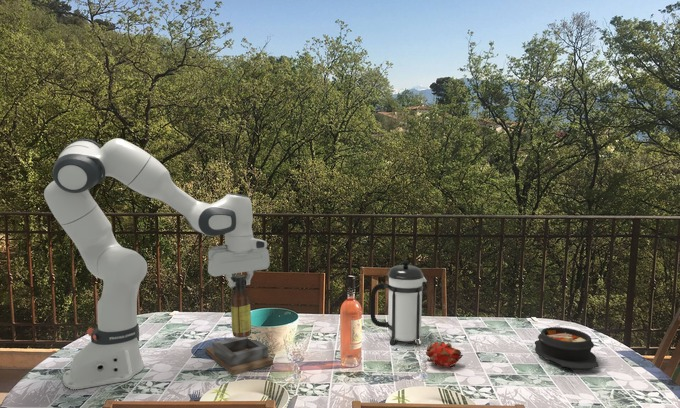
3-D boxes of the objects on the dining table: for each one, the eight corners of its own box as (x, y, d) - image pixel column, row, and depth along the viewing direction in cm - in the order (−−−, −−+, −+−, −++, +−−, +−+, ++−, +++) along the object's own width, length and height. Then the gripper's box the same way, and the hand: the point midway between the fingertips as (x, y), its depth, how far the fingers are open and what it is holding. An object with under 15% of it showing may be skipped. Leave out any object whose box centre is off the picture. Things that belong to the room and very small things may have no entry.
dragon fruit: (421, 368, 158) (458, 374, 158) (427, 362, 151) (466, 369, 150) (423, 342, 162) (459, 348, 162) (428, 335, 155) (466, 341, 155)
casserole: (521, 345, 175) (522, 322, 174) (572, 344, 176) (573, 321, 175) (555, 375, 150) (556, 349, 149) (614, 374, 151) (615, 348, 150)
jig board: (232, 375, 149) (232, 359, 148) (205, 352, 166) (205, 338, 166) (273, 364, 157) (273, 349, 157) (243, 343, 175) (243, 329, 174)
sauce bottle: (253, 331, 163) (253, 273, 161) (248, 338, 157) (248, 278, 155) (234, 331, 163) (233, 273, 161) (228, 338, 157) (228, 277, 155)
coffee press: (402, 329, 190) (403, 253, 187) (433, 341, 177) (435, 260, 175) (368, 339, 179) (369, 259, 177) (399, 352, 167) (400, 266, 164)
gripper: (211, 248, 148) (212, 293, 149) (271, 241, 160) (272, 283, 161) (204, 245, 153) (205, 288, 154) (262, 239, 165) (263, 279, 166)
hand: (239, 285), depth 158 cm, fingers closed on sauce bottle, 4 cm apart
